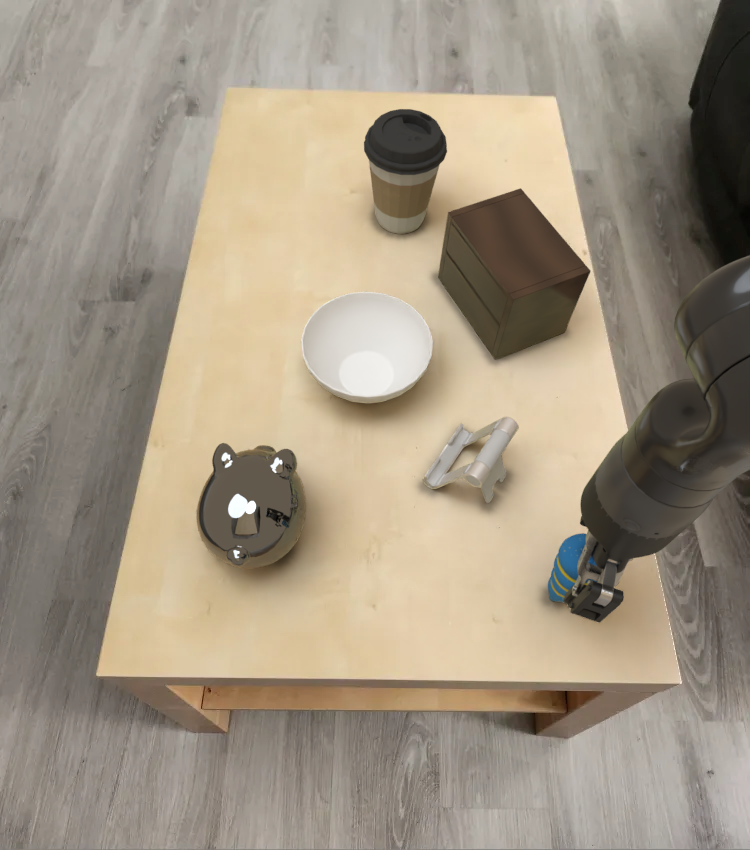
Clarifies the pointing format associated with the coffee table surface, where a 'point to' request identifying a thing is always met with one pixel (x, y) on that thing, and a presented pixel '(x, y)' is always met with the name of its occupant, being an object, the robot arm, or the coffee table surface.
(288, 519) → the piggy bank
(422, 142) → the coffee cup
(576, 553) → the ornament
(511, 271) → the wooden drawer cabinet
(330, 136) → the coffee table surface
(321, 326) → the bowl
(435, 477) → the tablet stand
